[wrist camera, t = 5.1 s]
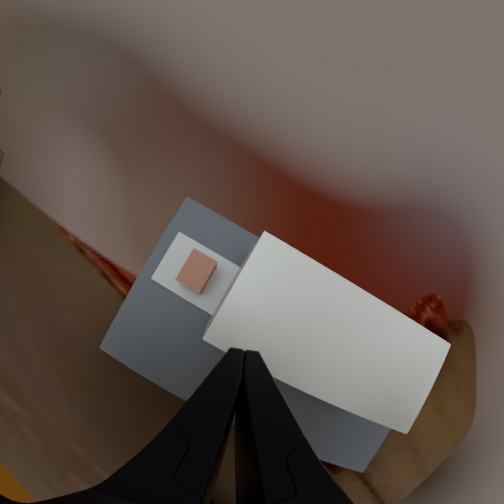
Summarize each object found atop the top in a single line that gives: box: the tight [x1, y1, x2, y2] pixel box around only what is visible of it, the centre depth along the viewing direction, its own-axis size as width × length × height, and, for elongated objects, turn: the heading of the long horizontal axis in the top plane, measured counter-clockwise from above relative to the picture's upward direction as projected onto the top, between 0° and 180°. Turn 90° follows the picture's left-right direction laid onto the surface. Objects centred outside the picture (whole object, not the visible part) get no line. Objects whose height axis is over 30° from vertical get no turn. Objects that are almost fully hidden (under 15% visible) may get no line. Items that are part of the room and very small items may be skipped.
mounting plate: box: [99, 197, 391, 473], centre depth 19 cm, size 12×22×5 cm, turn 61°
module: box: [203, 231, 451, 434], centre depth 17 cm, size 6×12×8 cm, turn 61°
